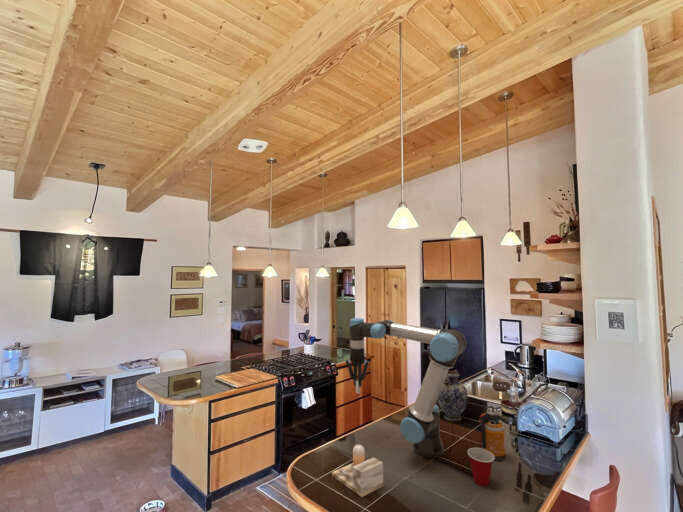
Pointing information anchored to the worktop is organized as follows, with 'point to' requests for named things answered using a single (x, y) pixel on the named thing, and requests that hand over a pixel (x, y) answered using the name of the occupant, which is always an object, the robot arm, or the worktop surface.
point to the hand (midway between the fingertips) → (358, 392)
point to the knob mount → (361, 476)
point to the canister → (493, 435)
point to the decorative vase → (452, 397)
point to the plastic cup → (481, 465)
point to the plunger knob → (358, 455)
